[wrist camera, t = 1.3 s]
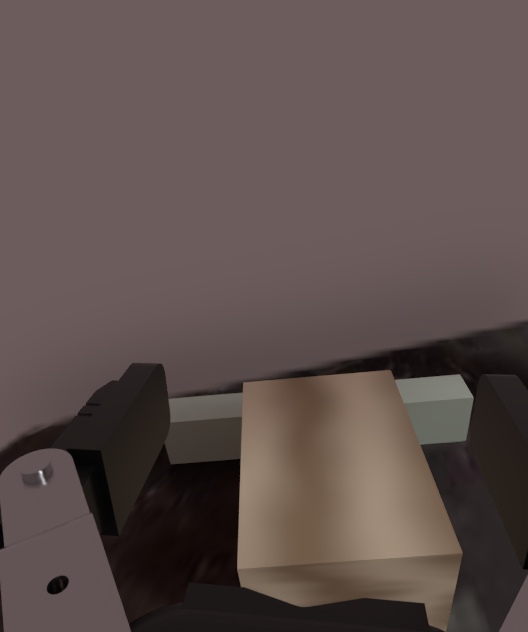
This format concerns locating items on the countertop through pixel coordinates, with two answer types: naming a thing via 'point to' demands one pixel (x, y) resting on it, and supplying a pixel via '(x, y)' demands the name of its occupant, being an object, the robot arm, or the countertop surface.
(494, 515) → the countertop surface
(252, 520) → the birch block
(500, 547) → the countertop surface
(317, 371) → the countertop surface
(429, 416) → the sage board
